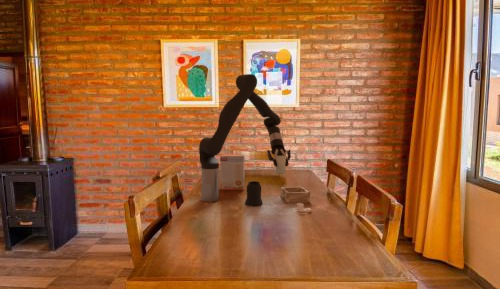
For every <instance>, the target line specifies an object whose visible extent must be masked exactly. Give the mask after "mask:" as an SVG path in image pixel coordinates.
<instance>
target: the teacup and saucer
mask: <svg viewBox="0 0 500 289" xmlns="http://www.w3.org/2000/svg"><path fill="white" fill-rule="evenodd" d="M304 205H305V203H294V206H296V207H294V208H293V209H292V210H291V212H292V214H293V213H294V214H297V215H304V214H305V215H306V214H308V213H311V212H312V208H310V207H306V208H305V207H304ZM296 211H297V212H296ZM295 212H296V213H295ZM306 212H307V213H306Z"/></svg>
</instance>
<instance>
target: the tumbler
mask: <svg viewBox="0 0 500 289" xmlns="http://www.w3.org/2000/svg"><path fill="white" fill-rule="evenodd" d="M286 156H287V154H286V155H276V162H277V167H275V174H276V175H285V174H286V170H287V169H286Z"/></svg>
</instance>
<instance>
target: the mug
mask: <svg viewBox="0 0 500 289" xmlns="http://www.w3.org/2000/svg"><path fill="white" fill-rule="evenodd" d="M260 183H261V182H259V181H257V180H256V181H253V180H251V181H248V183H247V186H246V198H245V203H244V204H245V205H246V206H248V207H252V208H253V207H261V206H263V200H262V185H261V184H260Z"/></svg>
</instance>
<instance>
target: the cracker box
mask: <svg viewBox="0 0 500 289" xmlns="http://www.w3.org/2000/svg"><path fill="white" fill-rule="evenodd" d="M219 160H220V161H219V162H220V163H219V184H220V191H242V192H243V191H244V190H245V186H246V185H245V182H246V181H245V178H246V177H245V155H244V154H221V155H220V159H219Z"/></svg>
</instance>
